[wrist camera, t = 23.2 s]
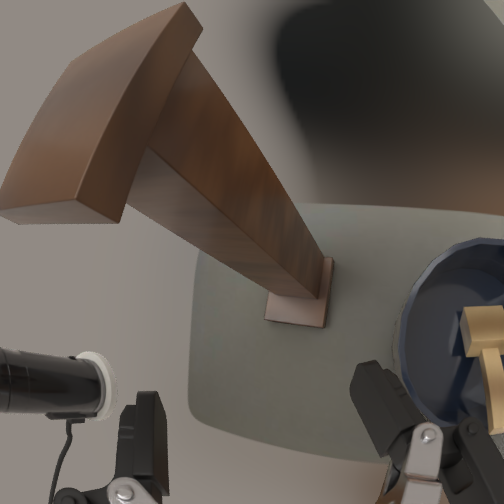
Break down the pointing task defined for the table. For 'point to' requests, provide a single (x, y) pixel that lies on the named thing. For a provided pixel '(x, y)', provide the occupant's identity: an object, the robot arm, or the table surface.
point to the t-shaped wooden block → (487, 356)
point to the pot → (447, 331)
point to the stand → (166, 163)
